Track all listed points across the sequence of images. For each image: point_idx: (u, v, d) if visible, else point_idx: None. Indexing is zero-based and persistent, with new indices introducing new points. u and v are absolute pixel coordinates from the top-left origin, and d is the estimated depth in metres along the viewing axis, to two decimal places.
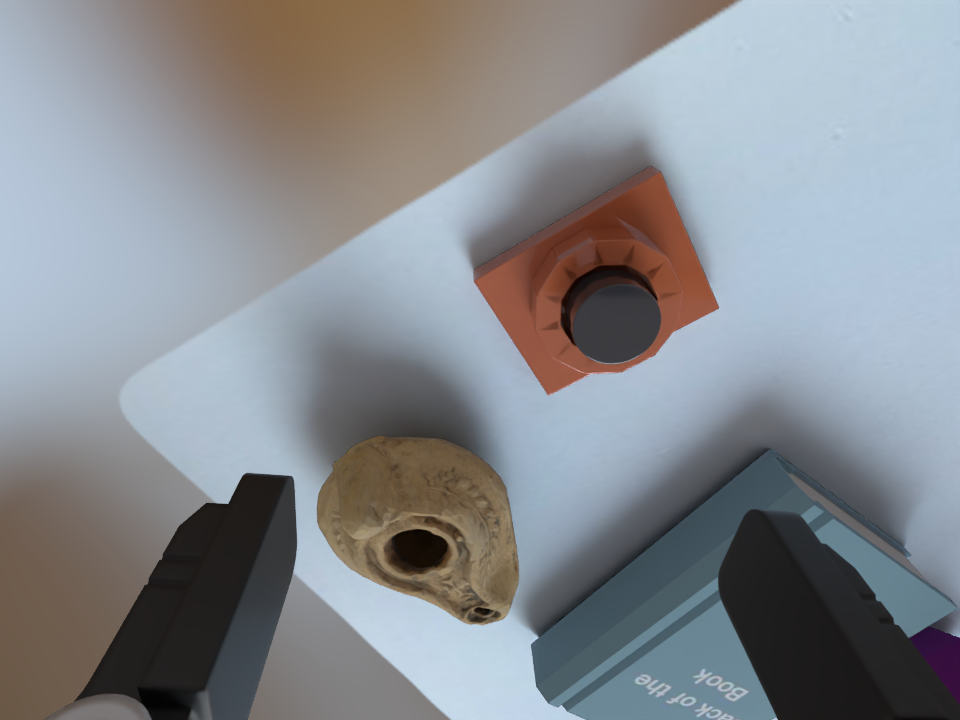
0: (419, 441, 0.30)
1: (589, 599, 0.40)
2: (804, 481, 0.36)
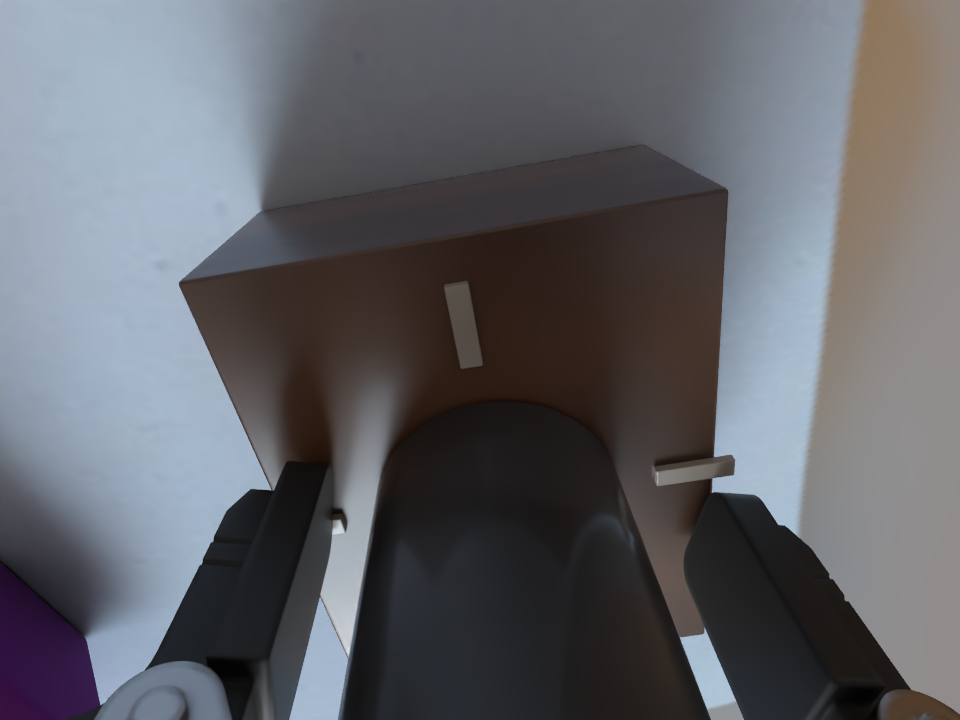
0: None
1: None
2: None
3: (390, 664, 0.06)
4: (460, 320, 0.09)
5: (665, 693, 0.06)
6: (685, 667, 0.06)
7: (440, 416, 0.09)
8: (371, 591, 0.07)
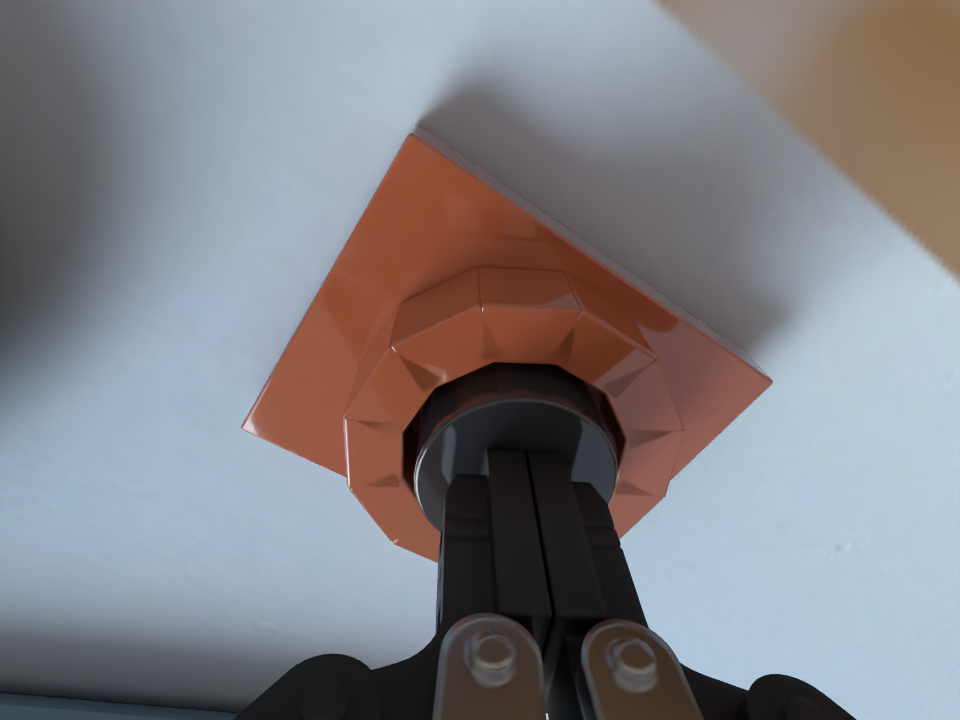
0: None
1: None
2: None
3: None
4: None
5: None
6: None
7: None
8: None
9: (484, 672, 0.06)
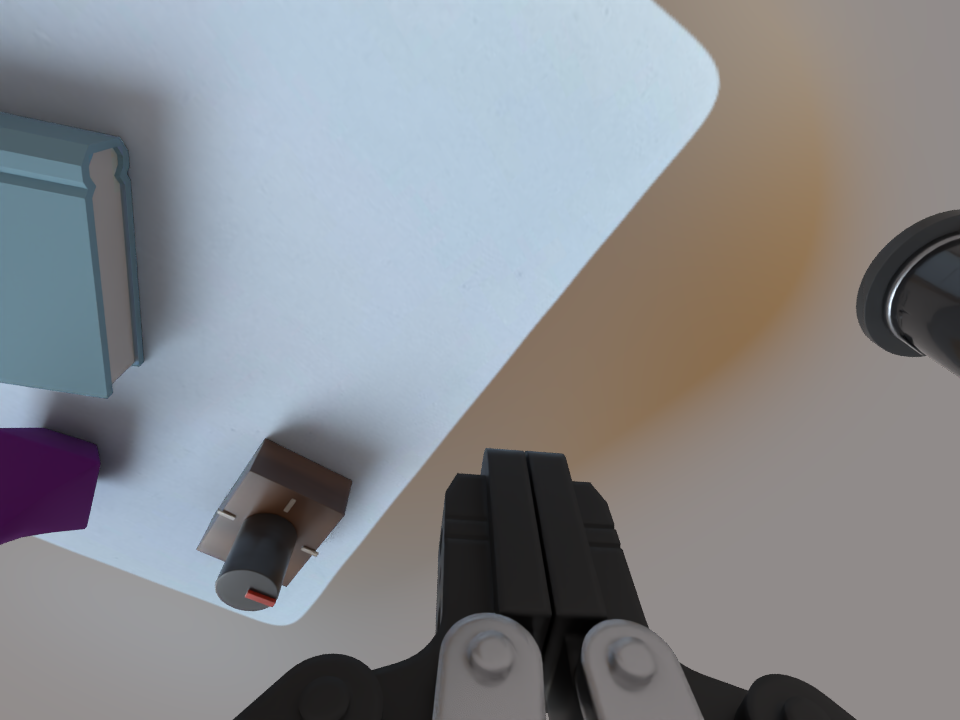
0: None
1: None
2: (122, 204, 0.36)
3: (248, 555, 0.40)
4: (290, 504, 0.44)
5: (279, 577, 0.41)
6: (283, 577, 0.42)
7: (272, 514, 0.44)
8: (245, 541, 0.42)
9: (484, 672, 0.06)
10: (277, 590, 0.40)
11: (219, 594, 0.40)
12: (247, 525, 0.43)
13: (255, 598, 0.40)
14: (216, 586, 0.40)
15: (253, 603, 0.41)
